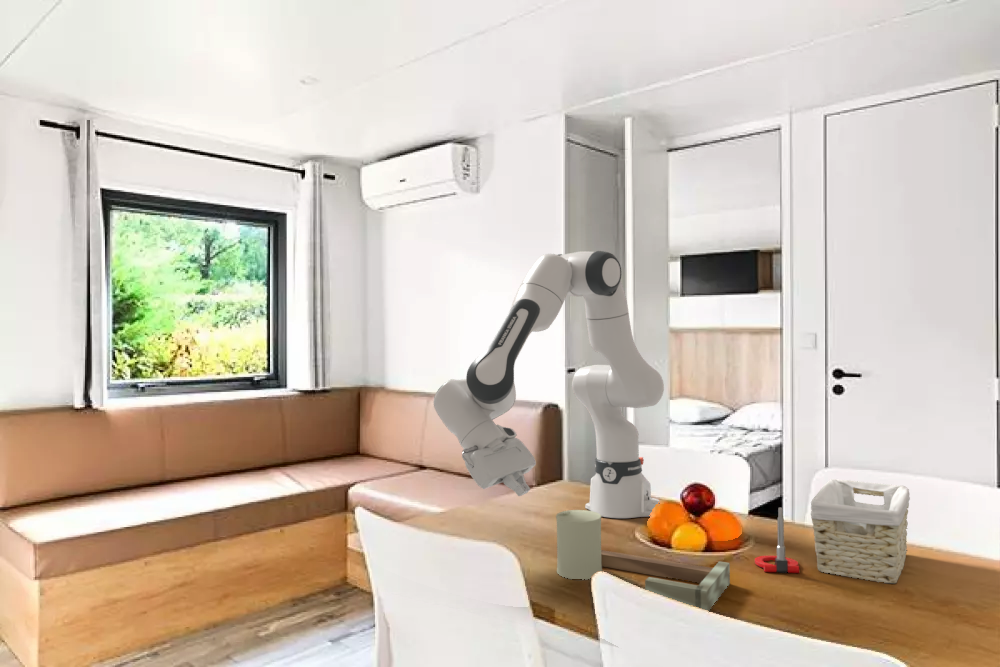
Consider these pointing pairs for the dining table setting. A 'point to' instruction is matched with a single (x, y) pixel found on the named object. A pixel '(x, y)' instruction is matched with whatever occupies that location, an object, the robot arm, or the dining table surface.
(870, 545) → the storage basket
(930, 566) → the dining table surface
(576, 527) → the can
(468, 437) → the robot arm
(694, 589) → the rail stop
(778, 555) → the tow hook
